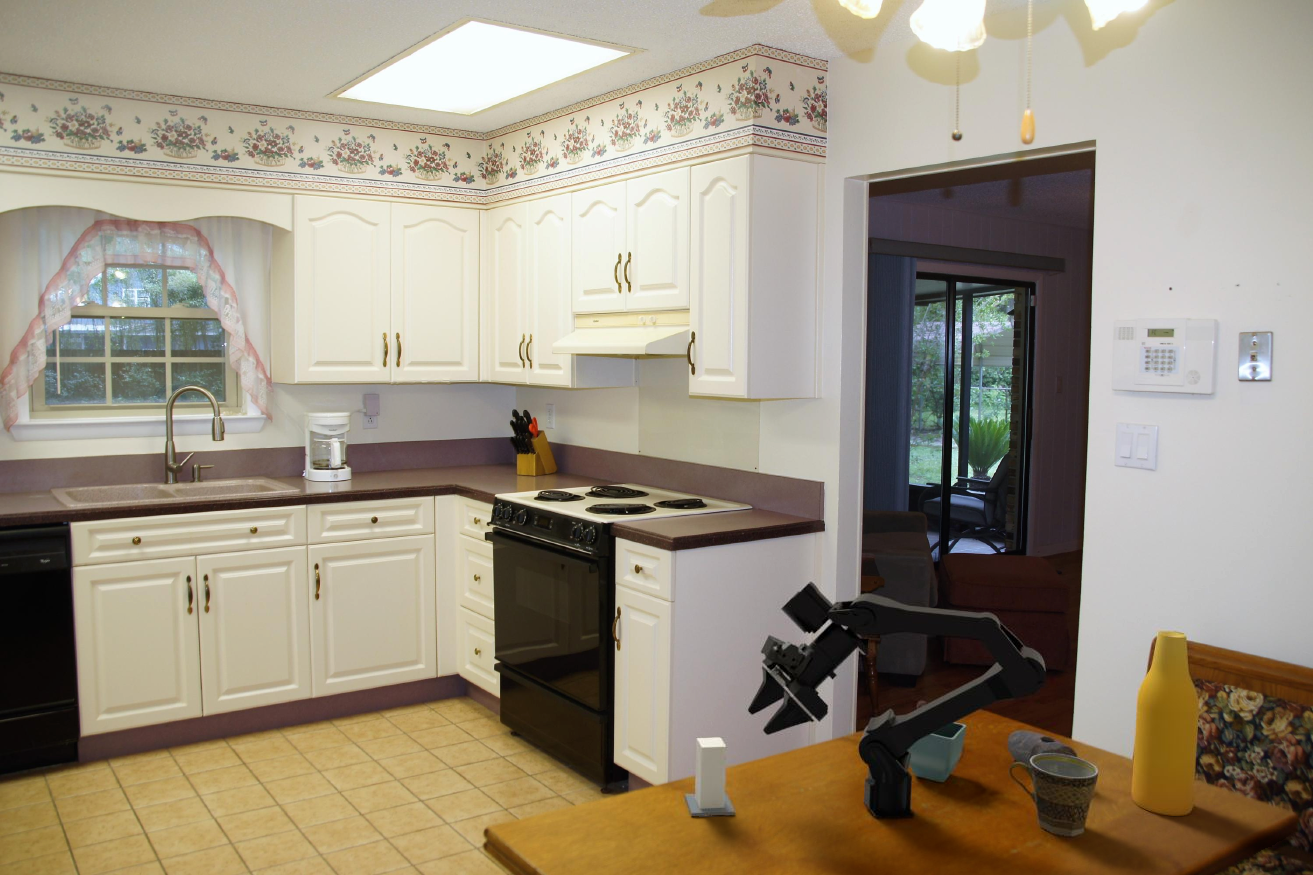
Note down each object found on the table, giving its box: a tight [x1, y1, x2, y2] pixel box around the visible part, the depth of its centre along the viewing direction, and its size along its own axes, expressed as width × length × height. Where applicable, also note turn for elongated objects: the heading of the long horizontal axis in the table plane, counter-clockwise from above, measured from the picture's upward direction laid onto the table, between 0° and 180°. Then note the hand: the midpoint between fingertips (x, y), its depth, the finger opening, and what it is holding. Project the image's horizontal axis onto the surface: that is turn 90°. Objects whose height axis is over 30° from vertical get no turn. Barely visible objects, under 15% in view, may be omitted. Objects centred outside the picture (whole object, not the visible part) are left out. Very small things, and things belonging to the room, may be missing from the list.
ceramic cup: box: [1008, 753, 1099, 837], centre depth 155 cm, size 13×10×10 cm
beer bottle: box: [1131, 630, 1200, 817], centre depth 163 cm, size 9×9×29 cm
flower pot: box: [908, 722, 967, 783], centre depth 174 cm, size 9×9×9 cm
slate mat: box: [684, 792, 736, 817], centre depth 159 cm, size 7×7×1 cm
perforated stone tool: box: [1007, 730, 1078, 766], centre depth 177 cm, size 15×5×7 cm, turn 20°
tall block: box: [694, 737, 727, 809], centre depth 159 cm, size 4×4×10 cm
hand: (757, 722), depth 160 cm, fingers open, 9 cm apart
